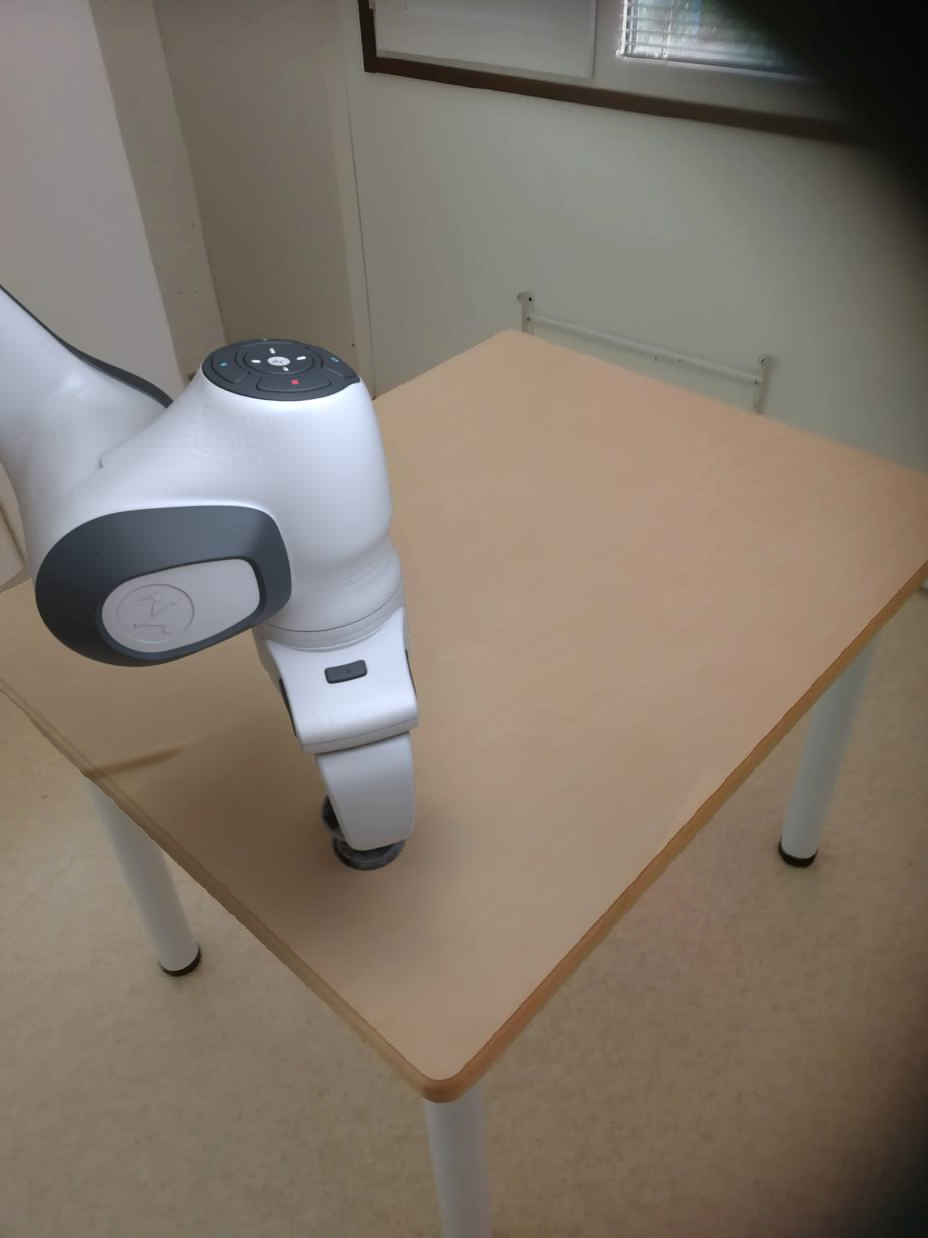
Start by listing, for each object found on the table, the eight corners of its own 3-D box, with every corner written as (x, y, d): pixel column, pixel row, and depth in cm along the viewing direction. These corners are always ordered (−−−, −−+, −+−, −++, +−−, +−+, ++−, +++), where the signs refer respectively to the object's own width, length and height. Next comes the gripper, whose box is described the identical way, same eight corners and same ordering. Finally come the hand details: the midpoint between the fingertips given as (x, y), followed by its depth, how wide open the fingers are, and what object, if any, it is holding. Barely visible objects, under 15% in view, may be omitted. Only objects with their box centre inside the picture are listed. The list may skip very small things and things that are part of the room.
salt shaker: (426, 826, 69) (412, 712, 61) (377, 887, 65) (356, 774, 57) (361, 793, 71) (339, 679, 63) (311, 850, 68) (281, 737, 60)
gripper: (254, 528, 61) (292, 680, 71) (301, 761, 47) (342, 915, 56) (350, 508, 63) (375, 660, 72) (426, 729, 48) (446, 886, 57)
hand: (361, 773), depth 64 cm, fingers open, 8 cm apart
